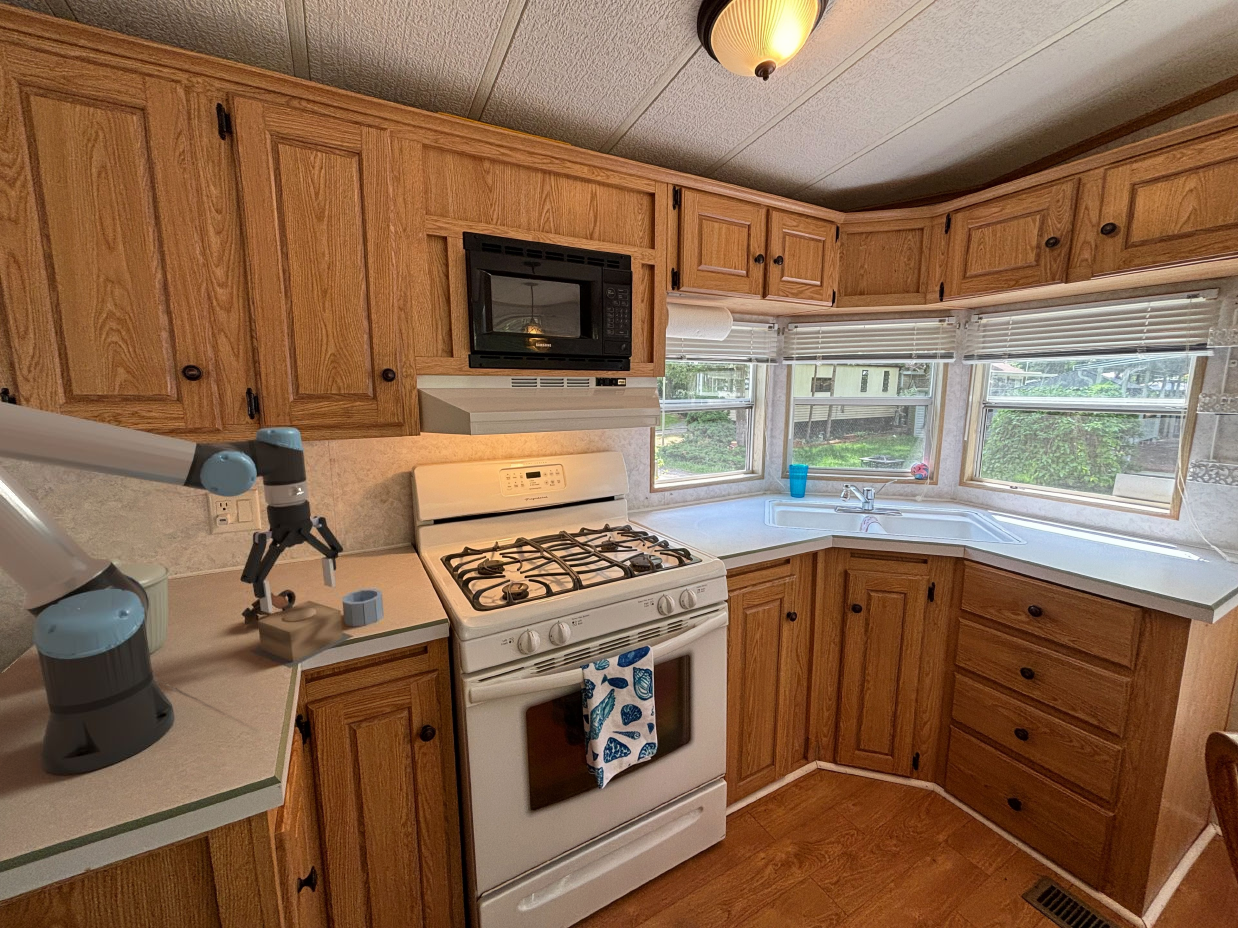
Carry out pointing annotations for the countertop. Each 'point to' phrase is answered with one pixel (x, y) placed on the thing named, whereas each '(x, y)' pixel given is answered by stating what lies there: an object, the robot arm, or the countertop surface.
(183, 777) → the countertop surface
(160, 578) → the canister
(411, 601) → the countertop surface
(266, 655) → the mat
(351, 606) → the faceted blue cup
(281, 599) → the brown jointed arch
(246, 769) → the countertop surface
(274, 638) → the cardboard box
